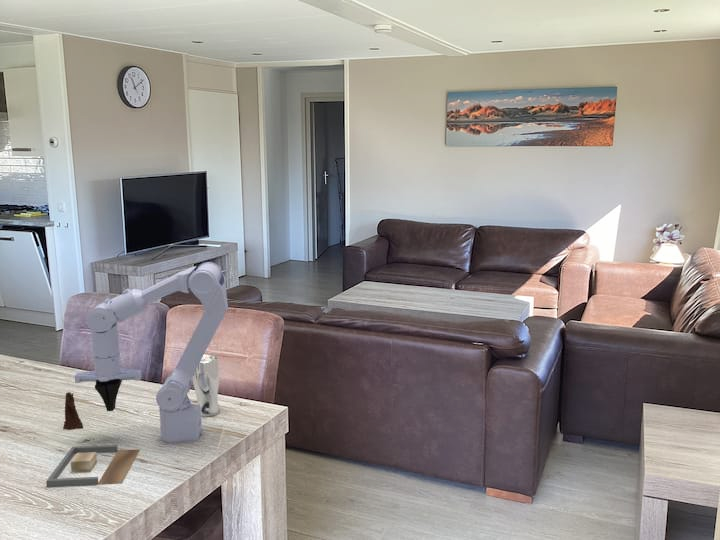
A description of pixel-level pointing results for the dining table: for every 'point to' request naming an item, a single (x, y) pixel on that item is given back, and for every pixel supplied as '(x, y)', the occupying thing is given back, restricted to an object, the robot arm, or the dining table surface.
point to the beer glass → (207, 385)
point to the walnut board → (119, 467)
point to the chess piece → (71, 414)
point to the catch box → (53, 480)
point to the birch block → (83, 462)
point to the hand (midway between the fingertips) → (111, 409)
